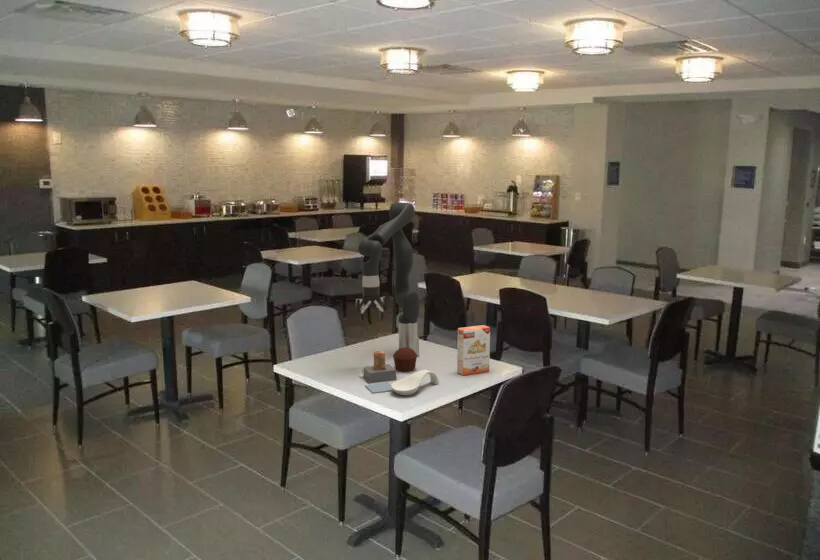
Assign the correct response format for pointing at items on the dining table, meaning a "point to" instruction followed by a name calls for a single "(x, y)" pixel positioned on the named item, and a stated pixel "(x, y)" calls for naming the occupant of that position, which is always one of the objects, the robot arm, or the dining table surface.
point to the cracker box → (473, 350)
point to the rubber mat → (379, 388)
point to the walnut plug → (379, 360)
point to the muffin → (405, 359)
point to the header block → (379, 374)
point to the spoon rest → (412, 382)
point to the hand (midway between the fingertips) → (371, 320)
